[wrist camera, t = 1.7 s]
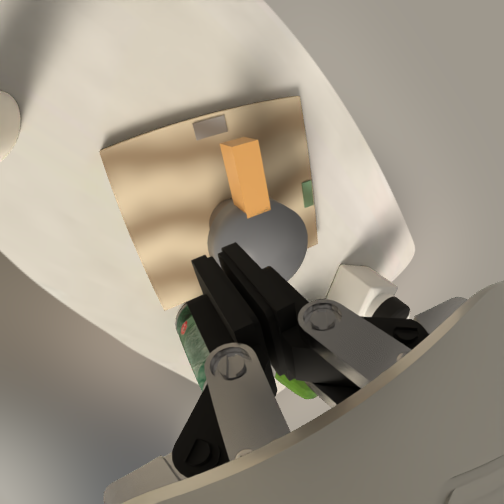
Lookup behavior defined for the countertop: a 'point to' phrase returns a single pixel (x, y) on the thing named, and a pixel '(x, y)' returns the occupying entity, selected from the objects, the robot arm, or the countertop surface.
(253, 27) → the countertop surface
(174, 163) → the plate
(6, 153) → the cylindrical container
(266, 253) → the grey paddle
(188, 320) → the canned tomato
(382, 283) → the medicine bottle
